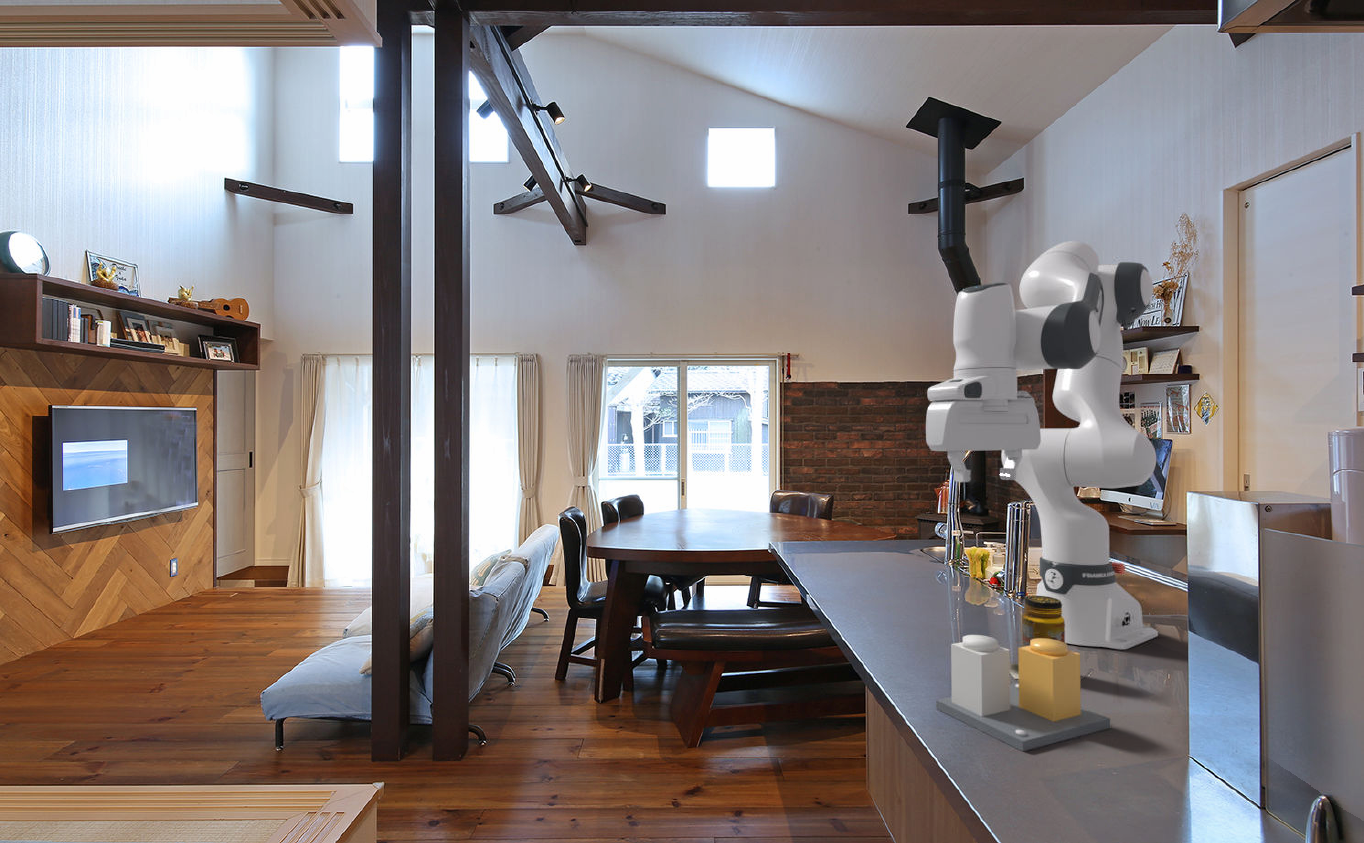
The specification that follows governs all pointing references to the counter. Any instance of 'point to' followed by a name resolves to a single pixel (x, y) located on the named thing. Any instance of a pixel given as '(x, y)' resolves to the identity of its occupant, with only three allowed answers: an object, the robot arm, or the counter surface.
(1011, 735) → the plate
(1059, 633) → the condiment
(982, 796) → the counter surface
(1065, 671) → the yellow knob block
